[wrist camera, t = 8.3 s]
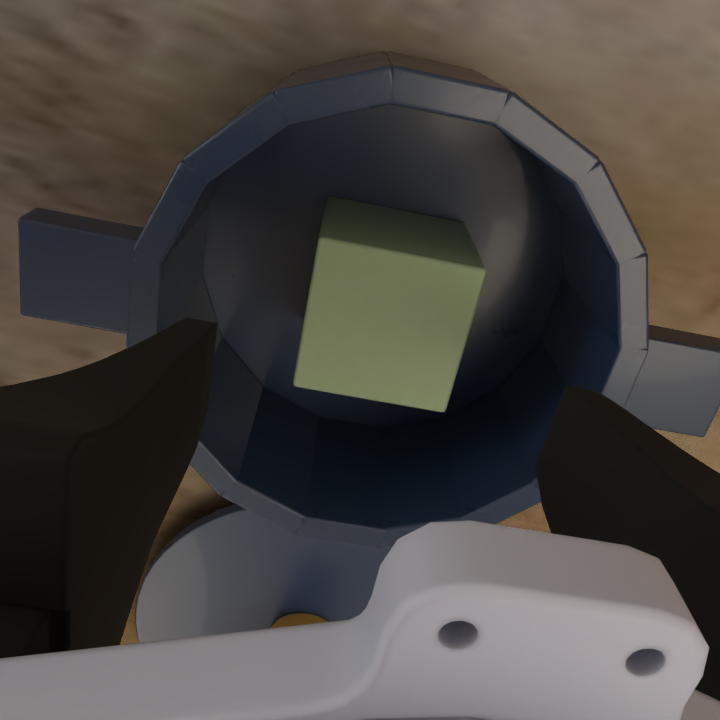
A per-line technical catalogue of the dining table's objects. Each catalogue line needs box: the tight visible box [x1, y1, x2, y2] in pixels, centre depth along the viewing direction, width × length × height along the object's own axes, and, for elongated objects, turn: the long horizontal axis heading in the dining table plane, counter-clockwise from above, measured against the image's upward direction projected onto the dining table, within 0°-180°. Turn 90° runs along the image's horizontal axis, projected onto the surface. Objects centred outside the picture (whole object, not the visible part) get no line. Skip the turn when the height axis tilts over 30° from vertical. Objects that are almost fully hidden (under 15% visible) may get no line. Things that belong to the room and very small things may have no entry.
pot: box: [18, 52, 720, 549], centre depth 18 cm, size 12×17×5 cm
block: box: [293, 196, 487, 412], centre depth 19 cm, size 4×4×4 cm
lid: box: [135, 504, 391, 643], centre depth 25 cm, size 13×13×4 cm
